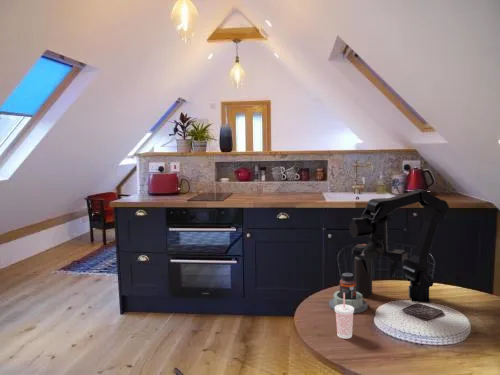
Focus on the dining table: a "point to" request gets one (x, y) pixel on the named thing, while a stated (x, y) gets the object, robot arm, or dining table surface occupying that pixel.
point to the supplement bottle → (348, 286)
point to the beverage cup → (344, 319)
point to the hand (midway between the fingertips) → (379, 275)
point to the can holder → (349, 302)
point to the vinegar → (363, 278)
